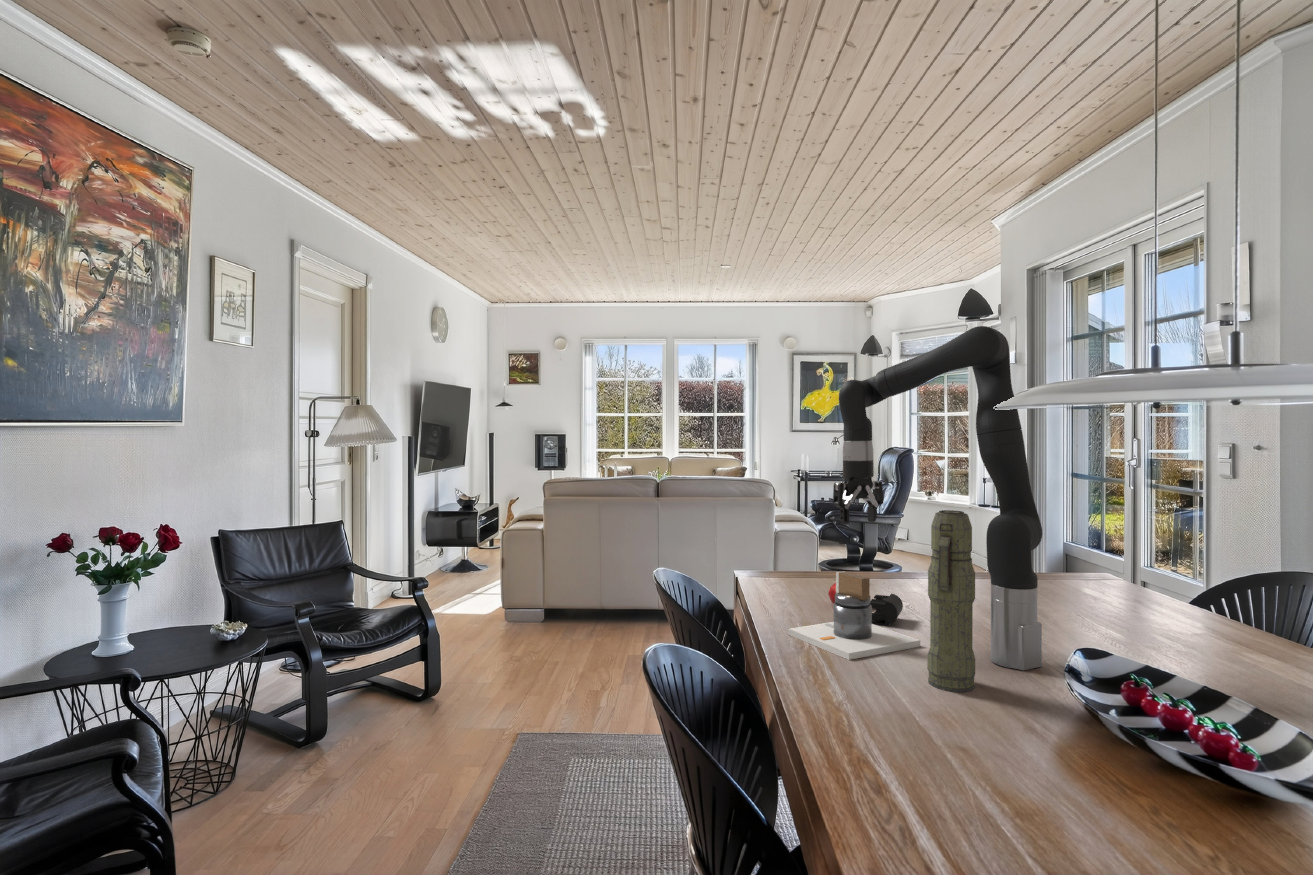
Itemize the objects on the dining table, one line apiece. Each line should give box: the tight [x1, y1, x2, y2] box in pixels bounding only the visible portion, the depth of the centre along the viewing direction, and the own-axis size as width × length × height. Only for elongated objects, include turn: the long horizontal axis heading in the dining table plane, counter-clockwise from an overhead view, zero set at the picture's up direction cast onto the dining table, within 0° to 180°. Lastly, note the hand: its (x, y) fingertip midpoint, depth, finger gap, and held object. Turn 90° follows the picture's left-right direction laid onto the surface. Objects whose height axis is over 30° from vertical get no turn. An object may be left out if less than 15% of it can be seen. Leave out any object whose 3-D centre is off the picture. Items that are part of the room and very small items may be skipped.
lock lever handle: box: [835, 570, 872, 608], centre depth 173 cm, size 9×8×7 cm
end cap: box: [871, 593, 904, 627], centre depth 190 cm, size 10×7×7 cm
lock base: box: [788, 603, 921, 661], centre depth 173 cm, size 22×22×9 cm
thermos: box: [926, 509, 976, 693], centre depth 143 cm, size 9×12×35 cm
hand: (858, 522), depth 180 cm, fingers open, 8 cm apart
